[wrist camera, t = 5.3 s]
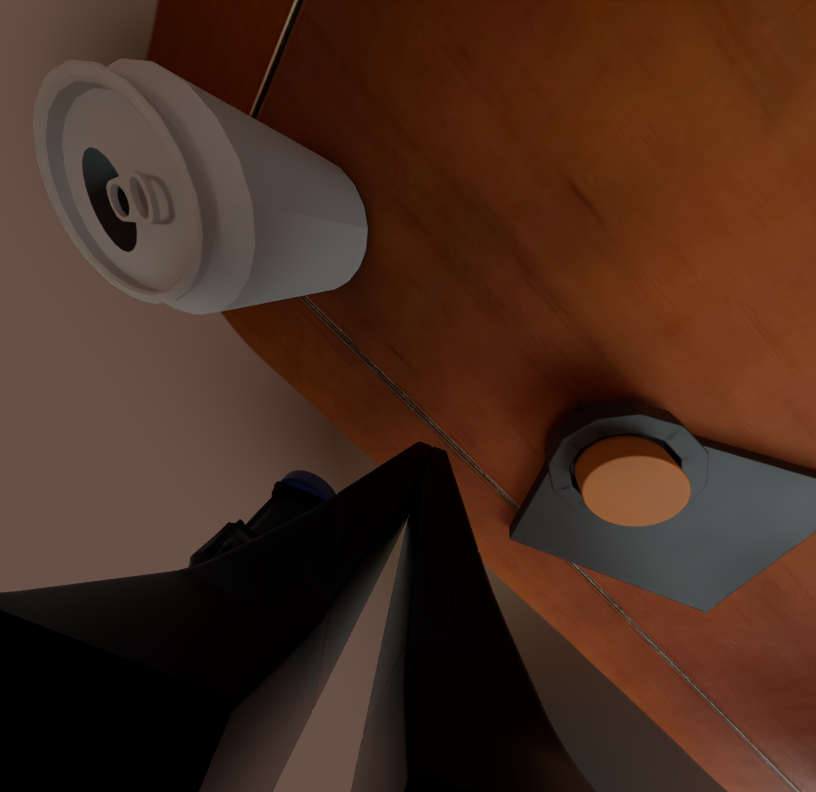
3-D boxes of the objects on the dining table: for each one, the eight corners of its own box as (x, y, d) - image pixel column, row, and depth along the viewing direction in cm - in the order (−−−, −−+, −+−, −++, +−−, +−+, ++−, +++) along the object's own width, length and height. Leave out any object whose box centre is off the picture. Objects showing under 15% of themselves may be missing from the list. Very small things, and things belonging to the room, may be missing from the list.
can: (261, 162, 18) (-47, 42, 8) (370, 154, 17) (155, -15, 6) (282, 287, 22) (82, 316, 11) (375, 292, 20) (238, 331, 10)
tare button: (560, 484, 19) (566, 507, 17) (598, 423, 17) (609, 443, 15) (640, 511, 18) (655, 538, 17) (692, 451, 16) (715, 475, 14)
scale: (498, 523, 26) (497, 553, 23) (574, 378, 19) (586, 397, 16) (697, 597, 23) (722, 640, 20) (869, 459, 16) (940, 499, 14)
